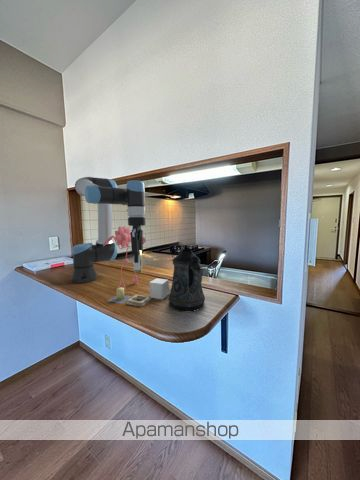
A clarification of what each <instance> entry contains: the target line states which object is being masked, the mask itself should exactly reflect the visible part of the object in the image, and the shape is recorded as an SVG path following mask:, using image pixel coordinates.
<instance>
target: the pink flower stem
mask: <svg viewBox="0 0 360 480" xmlns="http://www.w3.org/2000/svg"><path fill="white" fill-rule="evenodd" d="M131 231H132V229H131V228H130V227H126V226H125V225H124V226H122V225H120V226H118V229H117V230H114V234H115V235H112V236H111V237H110V238H108V239H107V240H106V241H105V243H104V244H103V246H105V245H106V244H108V243H109V242H110V241H111V239H112V240H113V241H114V243H115V244H116V245H117V248H118V249H119V250H123V249H125V248H126V251H125V252H126V254H125V259H123V260H124V261H123V264H122V266H121V268H120V274H121V275H120V276H121V278H120V282H119V283H118V284H117V285H118V286H117V288H120V286H121V285H122V286H123V288H124V291H125V290H126V286H125V282H126V281H124V280H125V279H124V278H123V270H122V269H123V267H124V265H125V264H126V265H128V264H133V265H134V262H131V261H130V260H129V259H128V258H127V257H128V251H129V250H128V249H129V248H132V247H131V246H130V245H129V244H130V243H131V235H130V233H131ZM146 241H147V240H146V237H144V236H143V245H144V244H145V243H146ZM138 279H139V276H138V275H137V273H134V276H133V277H132V279H131V280H132V282H133V283H136V284H137V286H140V284H139V281H138ZM145 283H148V282H147V281H146V282H145ZM117 288H116V289H117Z"/></svg>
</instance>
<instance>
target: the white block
mask: <svg viewBox="0 0 360 480" xmlns="http://www.w3.org/2000/svg"><path fill="white" fill-rule="evenodd" d="M169 281H170V280H169V279H166V278H158V277H157V278H154V279H153V280H151V281H149V296H150V297H151V299H157V300H164V299H165V298H166V297H169V294H170V287H169V286H170V282H169Z"/></svg>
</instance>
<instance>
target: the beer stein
mask: <svg viewBox="0 0 360 480" xmlns="http://www.w3.org/2000/svg"><path fill="white" fill-rule="evenodd" d="M175 256H176V257H175V258H173V259H172V265H173V273H172V281H171V289H170V291H169V295H168V296H167V299H168V303H169V307H170V308H171V309H173V310H175V311H177V310H178V311H177V312H182V311H191V312H195V311H194V310H196V311H198V310H197V309H199V310H200V308H201V307H202V308H203V307H204V305H205V301H206V296H205V294H204V291H203V287H202V282H203V270H202V267H201V265H200V264H201V259H200V257H198V256H197V254H195V253H194V252H193V250H192V249H181V252H180V253H179V254H177V255H175ZM202 308H201V309H202Z"/></svg>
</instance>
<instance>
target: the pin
mask: <svg viewBox="0 0 360 480" xmlns="http://www.w3.org/2000/svg"><path fill="white" fill-rule="evenodd" d="M139 255H140V270H134V269H133V272H134V274H135V273H136V274H141V273H143V253H142V250H139Z"/></svg>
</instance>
